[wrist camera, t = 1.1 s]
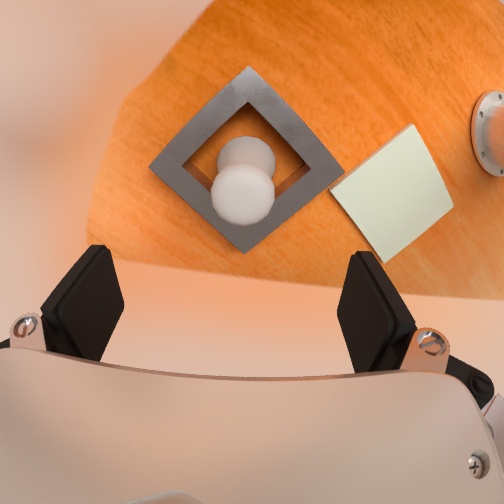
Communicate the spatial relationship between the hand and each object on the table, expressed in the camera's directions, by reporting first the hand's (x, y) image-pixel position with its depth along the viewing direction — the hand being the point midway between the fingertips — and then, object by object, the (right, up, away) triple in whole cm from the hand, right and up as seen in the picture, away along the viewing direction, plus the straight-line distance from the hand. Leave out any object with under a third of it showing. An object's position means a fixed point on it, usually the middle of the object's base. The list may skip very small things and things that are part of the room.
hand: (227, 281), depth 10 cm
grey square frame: (0, +11, +18) cm, 21 cm away
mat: (+19, +8, +20) cm, 28 cm away
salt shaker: (0, +11, +19) cm, 22 cm away
